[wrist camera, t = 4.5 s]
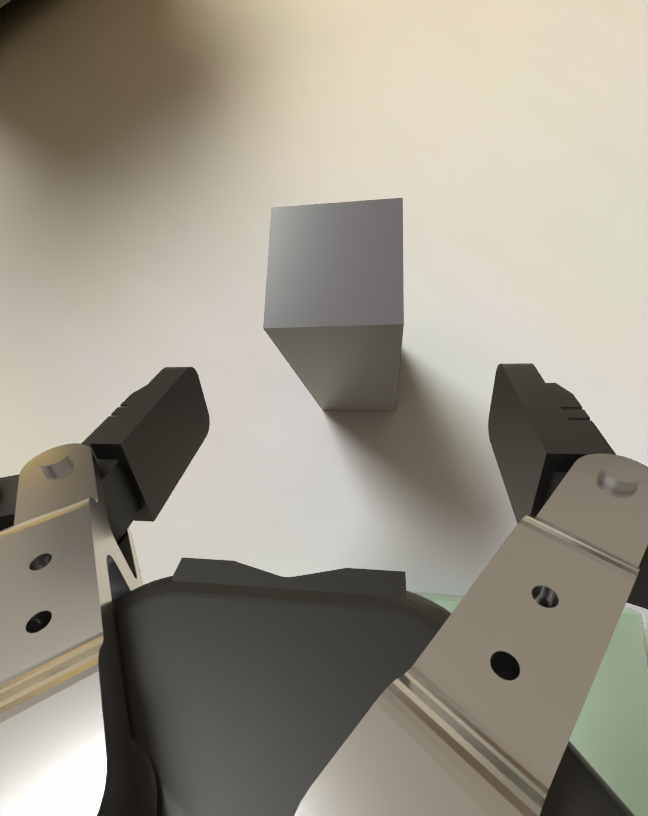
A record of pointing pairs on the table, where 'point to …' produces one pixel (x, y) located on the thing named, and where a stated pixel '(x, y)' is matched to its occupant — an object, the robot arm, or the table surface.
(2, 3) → the vintage electronic device
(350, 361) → the grey rectangular block
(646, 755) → the board
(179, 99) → the table surface
